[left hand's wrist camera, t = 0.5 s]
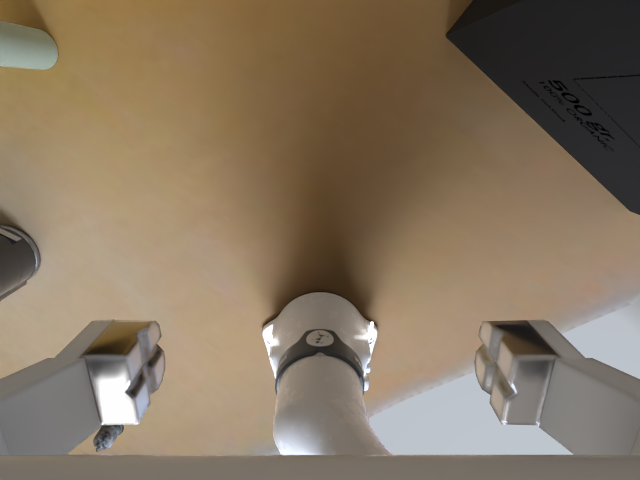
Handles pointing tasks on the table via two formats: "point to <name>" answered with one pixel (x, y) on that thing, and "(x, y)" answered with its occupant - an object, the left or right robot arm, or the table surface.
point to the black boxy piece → (568, 76)
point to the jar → (26, 47)
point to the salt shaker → (107, 436)
